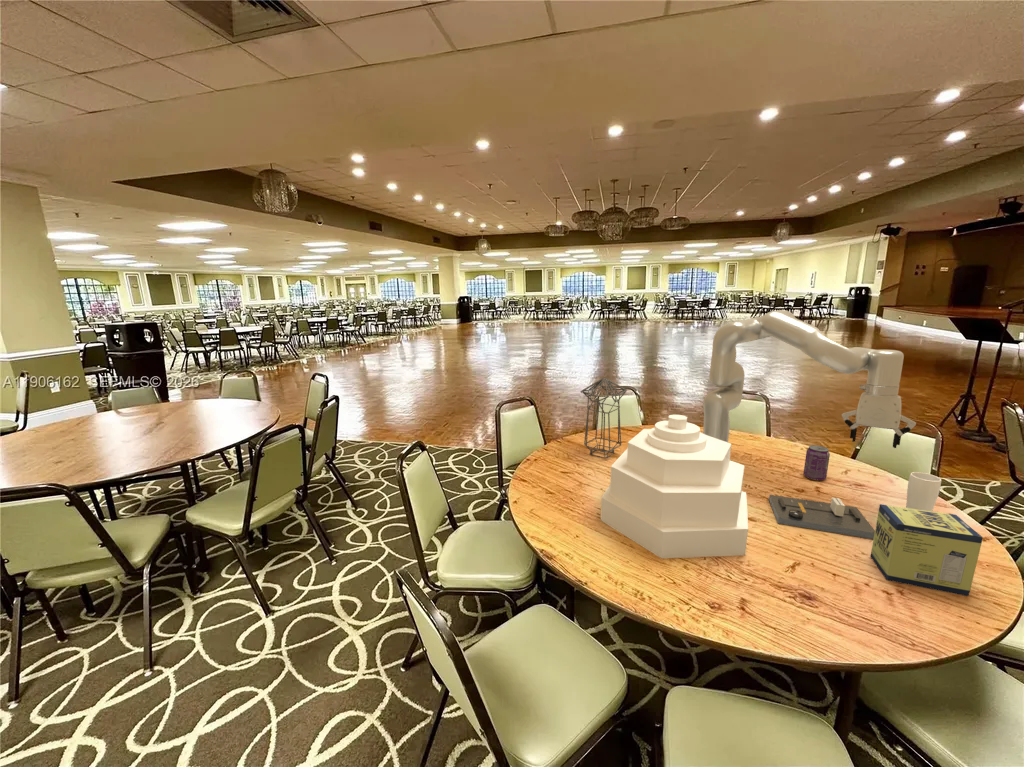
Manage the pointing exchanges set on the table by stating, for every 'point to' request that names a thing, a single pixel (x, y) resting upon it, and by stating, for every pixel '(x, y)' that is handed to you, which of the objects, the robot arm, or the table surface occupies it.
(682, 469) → the tiered cake
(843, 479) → the table surface
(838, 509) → the fader
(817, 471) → the beverage can
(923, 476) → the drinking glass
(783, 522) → the console
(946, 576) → the protein box
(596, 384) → the geometric lantern
